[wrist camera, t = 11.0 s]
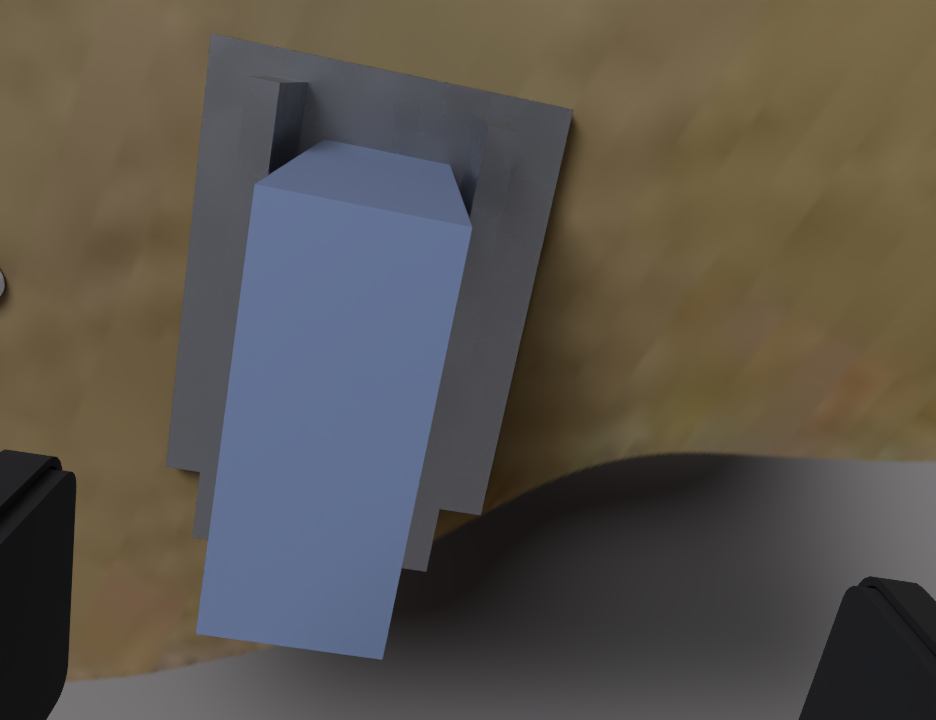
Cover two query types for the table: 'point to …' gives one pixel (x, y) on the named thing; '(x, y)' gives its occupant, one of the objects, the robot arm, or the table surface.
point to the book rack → (390, 130)
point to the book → (331, 396)
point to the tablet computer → (1, 283)
